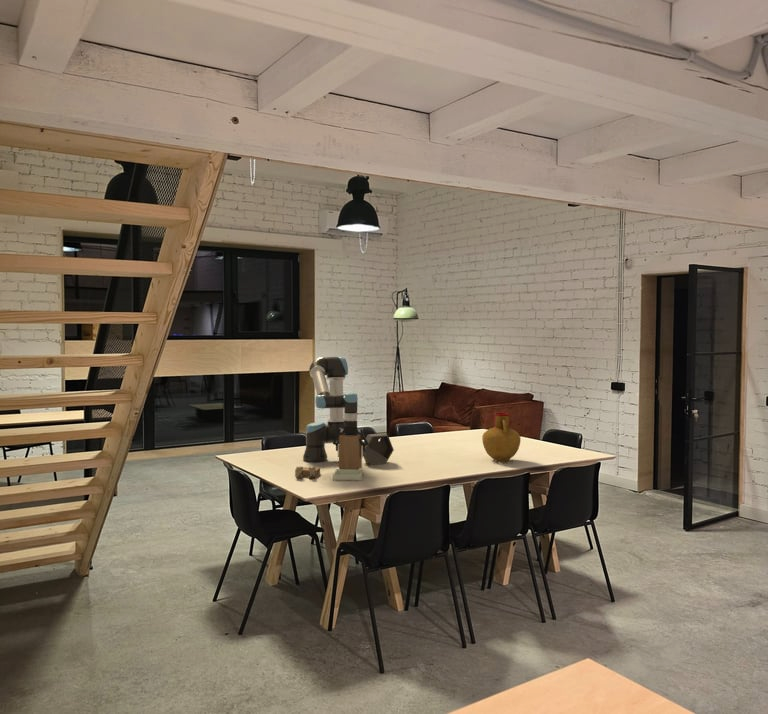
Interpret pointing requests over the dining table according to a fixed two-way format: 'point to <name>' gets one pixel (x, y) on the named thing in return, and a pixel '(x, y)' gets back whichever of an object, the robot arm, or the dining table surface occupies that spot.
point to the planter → (377, 449)
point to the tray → (348, 474)
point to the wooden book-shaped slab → (306, 471)
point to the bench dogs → (300, 472)
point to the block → (350, 452)
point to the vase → (501, 439)
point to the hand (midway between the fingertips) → (350, 456)
